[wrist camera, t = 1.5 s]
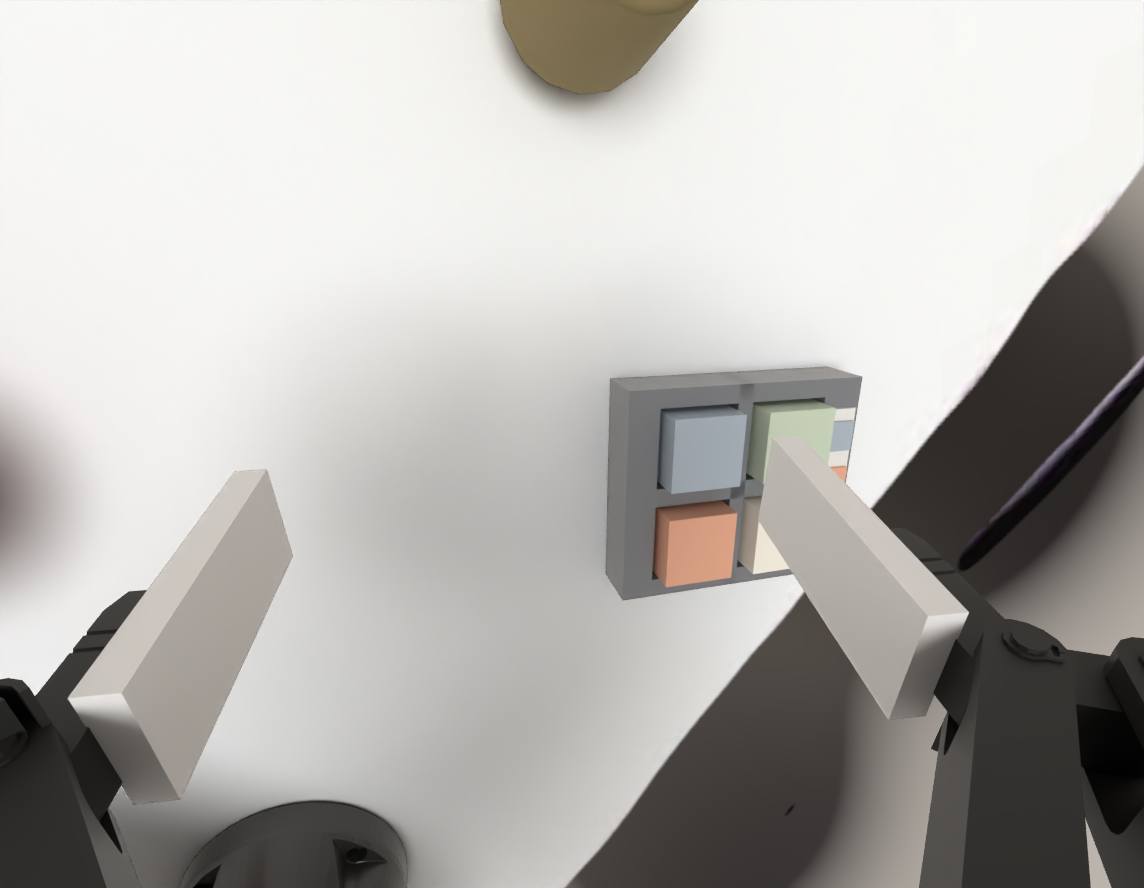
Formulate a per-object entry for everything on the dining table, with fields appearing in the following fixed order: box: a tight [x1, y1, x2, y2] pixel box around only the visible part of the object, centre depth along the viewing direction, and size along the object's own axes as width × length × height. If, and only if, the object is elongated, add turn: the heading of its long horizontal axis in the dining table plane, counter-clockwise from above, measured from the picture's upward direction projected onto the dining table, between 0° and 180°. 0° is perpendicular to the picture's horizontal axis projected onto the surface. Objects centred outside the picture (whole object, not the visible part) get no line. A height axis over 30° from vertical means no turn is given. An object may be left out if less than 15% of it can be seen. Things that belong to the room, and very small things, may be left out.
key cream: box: [737, 495, 790, 574], centre depth 40 cm, size 5×5×3 cm
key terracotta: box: [653, 500, 737, 587], centre depth 39 cm, size 5×5×3 cm
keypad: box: [606, 367, 862, 600], centre depth 40 cm, size 14×16×4 cm
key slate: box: [657, 404, 747, 494], centre depth 37 cm, size 5×5×3 cm
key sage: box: [746, 398, 836, 484], centre depth 38 cm, size 5×5×3 cm
